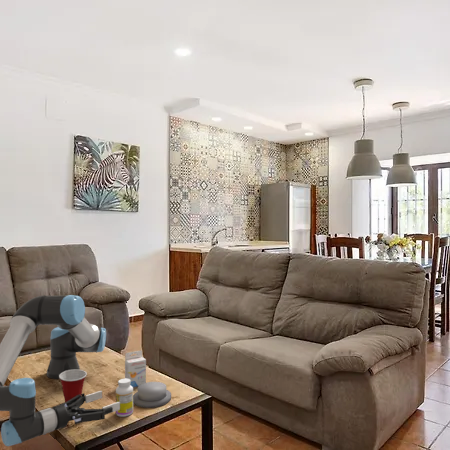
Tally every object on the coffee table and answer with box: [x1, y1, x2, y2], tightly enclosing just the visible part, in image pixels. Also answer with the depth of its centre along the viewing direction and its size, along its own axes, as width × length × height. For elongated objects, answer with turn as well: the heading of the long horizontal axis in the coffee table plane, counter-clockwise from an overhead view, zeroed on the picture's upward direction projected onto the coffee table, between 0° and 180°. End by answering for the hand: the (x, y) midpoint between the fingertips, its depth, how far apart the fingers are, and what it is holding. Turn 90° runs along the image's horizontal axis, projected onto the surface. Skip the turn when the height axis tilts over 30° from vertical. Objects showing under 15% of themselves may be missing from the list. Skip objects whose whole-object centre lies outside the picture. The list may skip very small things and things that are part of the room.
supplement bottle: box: [115, 377, 134, 418], centre depth 156 cm, size 7×7×13 cm
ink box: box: [124, 350, 147, 388], centre depth 183 cm, size 8×5×15 cm, turn 123°
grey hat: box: [133, 381, 172, 409], centre depth 168 cm, size 16×16×5 cm
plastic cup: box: [59, 369, 88, 403], centre depth 165 cm, size 11×11×12 cm
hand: (110, 399), depth 151 cm, fingers open, 13 cm apart
